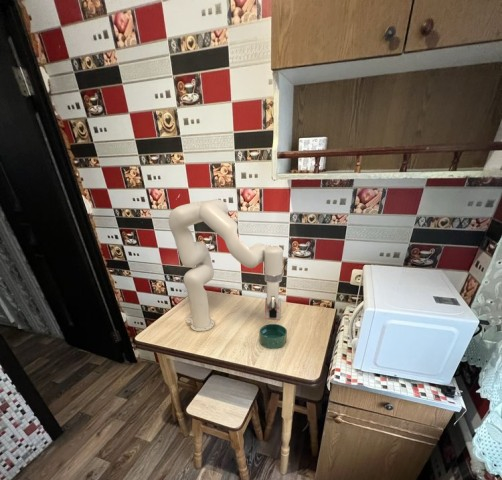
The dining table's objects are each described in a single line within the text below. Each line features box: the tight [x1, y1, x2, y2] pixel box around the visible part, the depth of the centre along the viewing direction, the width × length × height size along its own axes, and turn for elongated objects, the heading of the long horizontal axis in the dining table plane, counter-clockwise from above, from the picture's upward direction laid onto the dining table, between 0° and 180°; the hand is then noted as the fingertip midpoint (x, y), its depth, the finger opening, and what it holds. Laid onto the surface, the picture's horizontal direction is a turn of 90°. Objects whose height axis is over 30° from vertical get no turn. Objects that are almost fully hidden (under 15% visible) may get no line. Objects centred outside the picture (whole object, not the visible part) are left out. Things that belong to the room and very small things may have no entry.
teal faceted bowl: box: [258, 323, 288, 349], centre depth 133 cm, size 13×13×6 cm
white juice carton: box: [264, 297, 282, 321], centre depth 125 cm, size 4×7×10 cm, turn 77°
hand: (273, 314), depth 127 cm, fingers closed on white juice carton, 4 cm apart
